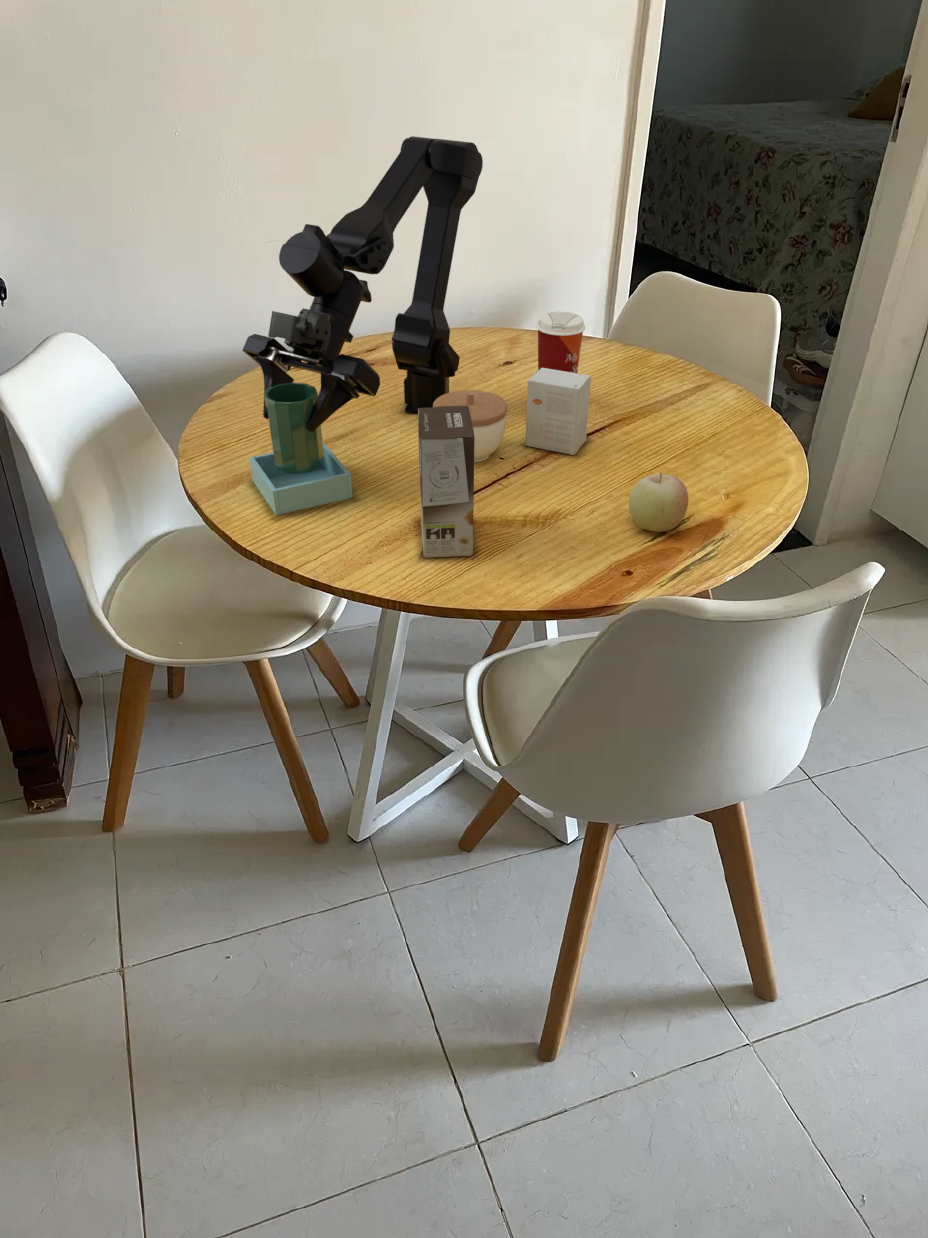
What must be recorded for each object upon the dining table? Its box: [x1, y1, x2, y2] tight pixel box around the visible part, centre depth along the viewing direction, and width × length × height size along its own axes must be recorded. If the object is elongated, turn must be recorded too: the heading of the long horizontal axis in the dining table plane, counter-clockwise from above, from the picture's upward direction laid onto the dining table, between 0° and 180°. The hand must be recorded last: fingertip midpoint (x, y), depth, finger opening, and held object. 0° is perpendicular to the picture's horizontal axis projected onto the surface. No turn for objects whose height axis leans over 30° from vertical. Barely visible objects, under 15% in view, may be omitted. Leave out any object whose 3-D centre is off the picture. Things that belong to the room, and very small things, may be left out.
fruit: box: [628, 471, 689, 533], centre depth 118 cm, size 8×7×8 cm
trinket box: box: [433, 389, 508, 464], centre depth 134 cm, size 11×11×9 cm
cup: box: [263, 381, 324, 474], centre depth 121 cm, size 7×7×10 cm
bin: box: [248, 441, 354, 516], centre depth 126 cm, size 11×11×4 cm
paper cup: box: [535, 311, 586, 373], centre depth 147 cm, size 8×8×14 cm
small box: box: [525, 368, 592, 456], centre depth 136 cm, size 8×6×10 cm
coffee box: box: [417, 406, 475, 558], centre depth 112 cm, size 9×6×16 cm
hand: (287, 424), depth 120 cm, fingers closed on cup, 7 cm apart
